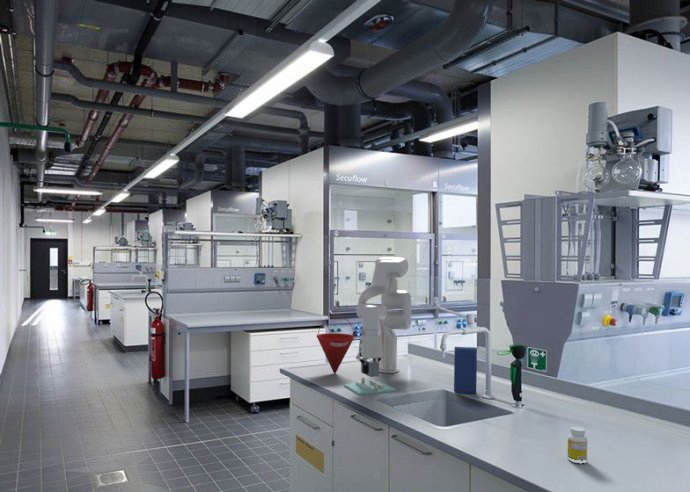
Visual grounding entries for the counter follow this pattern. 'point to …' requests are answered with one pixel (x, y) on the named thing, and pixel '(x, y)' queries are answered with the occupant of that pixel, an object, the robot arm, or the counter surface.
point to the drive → (371, 368)
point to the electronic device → (465, 370)
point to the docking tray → (368, 387)
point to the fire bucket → (335, 346)
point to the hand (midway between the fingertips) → (369, 372)
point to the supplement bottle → (577, 444)
